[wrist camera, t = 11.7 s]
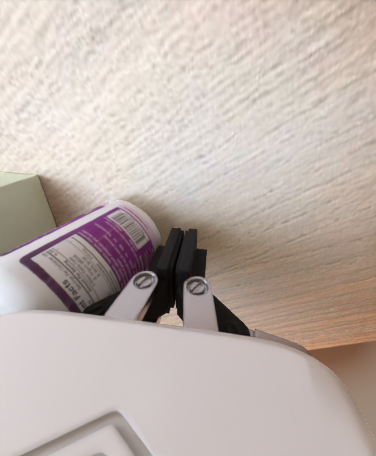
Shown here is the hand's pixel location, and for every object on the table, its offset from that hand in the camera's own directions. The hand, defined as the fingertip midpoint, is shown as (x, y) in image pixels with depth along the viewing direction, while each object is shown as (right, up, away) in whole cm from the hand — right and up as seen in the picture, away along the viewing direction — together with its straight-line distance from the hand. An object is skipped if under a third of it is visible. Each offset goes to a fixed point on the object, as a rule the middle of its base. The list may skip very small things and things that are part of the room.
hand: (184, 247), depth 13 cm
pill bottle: (-4, +1, +1) cm, 4 cm away
